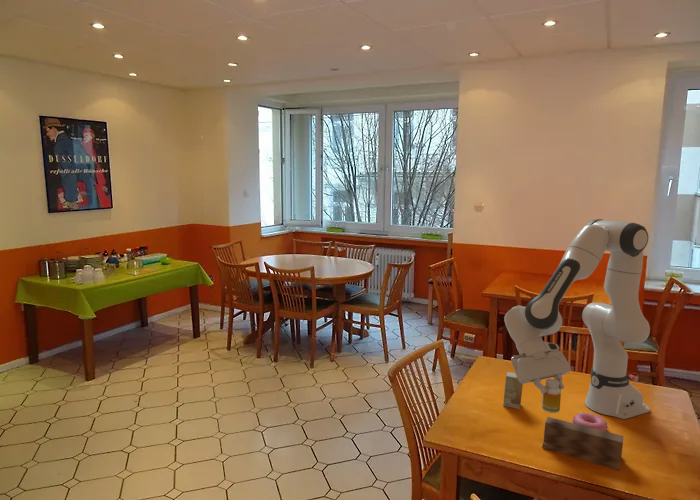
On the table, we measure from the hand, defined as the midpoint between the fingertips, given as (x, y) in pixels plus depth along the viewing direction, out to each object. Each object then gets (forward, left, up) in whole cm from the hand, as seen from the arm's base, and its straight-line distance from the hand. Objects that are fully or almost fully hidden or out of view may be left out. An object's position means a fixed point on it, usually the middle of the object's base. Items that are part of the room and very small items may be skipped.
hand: (553, 391), depth 157 cm
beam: (-6, +7, -18) cm, 20 cm away
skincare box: (-2, -26, -18) cm, 32 cm away
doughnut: (-19, -5, -18) cm, 27 cm away
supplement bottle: (0, -1, -7) cm, 7 cm away
